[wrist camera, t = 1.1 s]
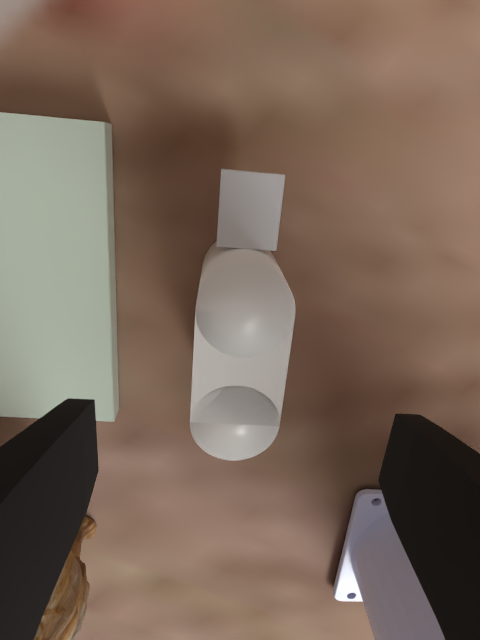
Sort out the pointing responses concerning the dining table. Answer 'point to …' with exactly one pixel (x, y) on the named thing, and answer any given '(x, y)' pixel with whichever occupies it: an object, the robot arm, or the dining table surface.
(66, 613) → the lion figurine
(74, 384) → the pale green rectangular panel
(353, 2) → the dining table surface
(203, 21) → the dining table surface
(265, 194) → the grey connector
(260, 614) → the dining table surface
